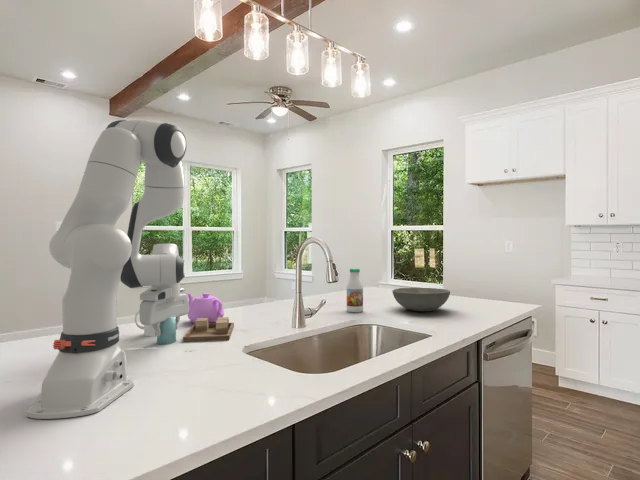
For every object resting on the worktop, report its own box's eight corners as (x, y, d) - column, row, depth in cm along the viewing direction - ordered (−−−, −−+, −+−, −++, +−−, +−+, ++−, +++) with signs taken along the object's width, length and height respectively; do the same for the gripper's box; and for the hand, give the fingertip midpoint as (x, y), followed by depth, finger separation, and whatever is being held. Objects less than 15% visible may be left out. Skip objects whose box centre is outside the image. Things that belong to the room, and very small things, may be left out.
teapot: (173, 324, 162) (173, 293, 161) (200, 317, 174) (199, 289, 174) (210, 330, 152) (209, 297, 152) (235, 322, 164) (234, 292, 164)
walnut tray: (229, 341, 135) (229, 335, 135) (183, 343, 133) (183, 337, 133) (233, 328, 155) (233, 322, 155) (193, 329, 153) (193, 324, 153)
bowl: (389, 314, 179) (389, 292, 179) (395, 304, 204) (395, 284, 204) (450, 317, 171) (450, 294, 171) (449, 306, 196) (449, 286, 196)
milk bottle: (343, 310, 188) (343, 268, 188) (357, 309, 192) (357, 267, 191) (351, 313, 181) (351, 269, 181) (366, 311, 185) (366, 268, 184)
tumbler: (173, 345, 131) (173, 318, 130) (154, 346, 130) (154, 319, 130) (177, 340, 136) (177, 314, 136) (159, 341, 136) (159, 315, 136)
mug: (138, 340, 137) (137, 306, 137) (130, 336, 143) (130, 302, 143) (172, 335, 145) (172, 302, 144) (164, 330, 151) (163, 299, 151)
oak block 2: (228, 329, 149) (228, 319, 149) (217, 330, 148) (217, 319, 148) (228, 327, 153) (228, 316, 153) (217, 328, 152) (217, 317, 152)
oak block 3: (227, 333, 144) (227, 322, 144) (216, 334, 143) (216, 322, 143) (226, 330, 148) (226, 319, 148) (215, 331, 147) (215, 320, 147)
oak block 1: (206, 331, 147) (206, 320, 147) (195, 331, 147) (195, 320, 147) (208, 328, 151) (208, 318, 151) (197, 328, 151) (197, 318, 151)
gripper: (178, 287, 144) (178, 325, 144) (135, 295, 124) (136, 339, 125) (193, 287, 142) (193, 326, 142) (152, 296, 122) (152, 341, 122)
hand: (166, 332), depth 133 cm, fingers closed on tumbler, 6 cm apart
